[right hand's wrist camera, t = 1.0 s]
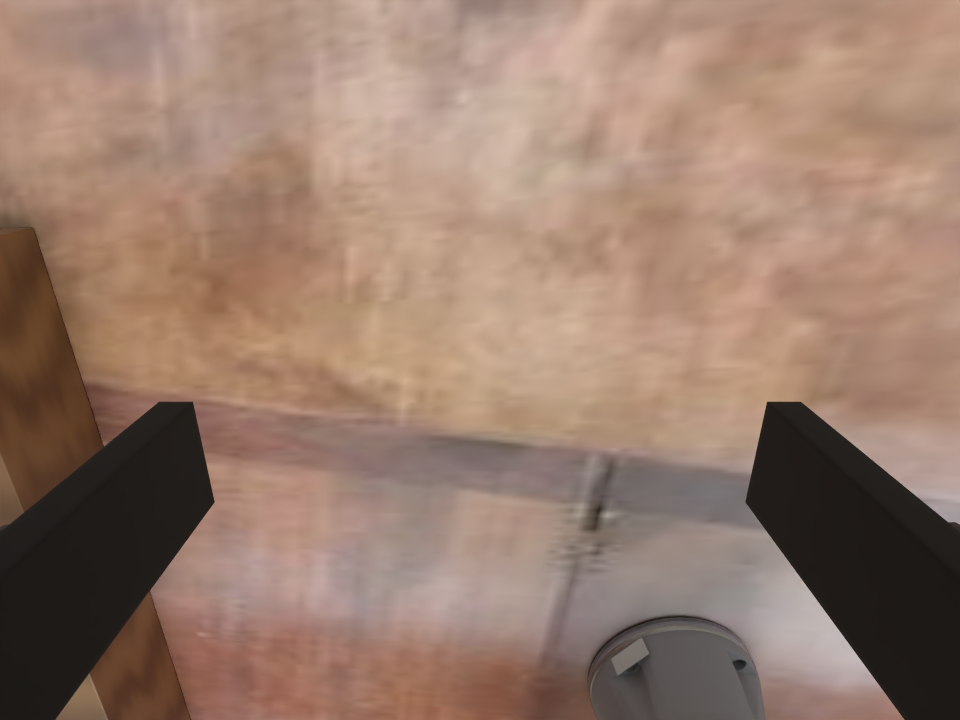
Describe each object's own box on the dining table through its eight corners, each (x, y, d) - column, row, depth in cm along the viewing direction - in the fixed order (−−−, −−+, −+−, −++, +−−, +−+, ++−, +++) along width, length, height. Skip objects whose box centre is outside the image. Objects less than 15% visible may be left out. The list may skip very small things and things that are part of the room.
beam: (238, 866, 64) (206, 962, 57) (195, 867, 64) (158, 963, 57) (33, 227, 36) (-82, 251, 29) (-43, 228, 36) (-178, 253, 29)
